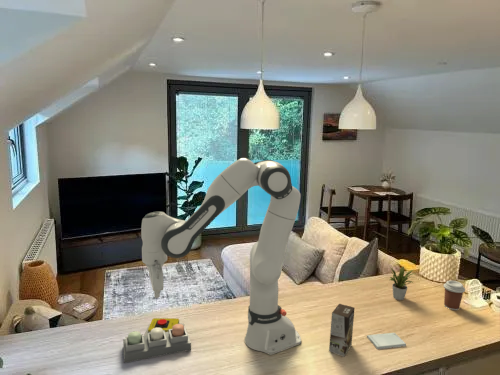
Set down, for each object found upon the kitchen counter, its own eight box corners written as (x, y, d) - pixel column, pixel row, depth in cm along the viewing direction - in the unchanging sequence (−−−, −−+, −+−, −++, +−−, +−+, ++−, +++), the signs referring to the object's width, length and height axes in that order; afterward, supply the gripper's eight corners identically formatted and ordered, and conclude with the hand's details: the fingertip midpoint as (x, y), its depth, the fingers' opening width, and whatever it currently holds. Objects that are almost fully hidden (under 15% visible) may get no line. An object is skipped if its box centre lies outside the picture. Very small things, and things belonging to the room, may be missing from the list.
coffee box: (345, 357, 137) (348, 317, 134) (328, 351, 140) (331, 312, 137) (352, 345, 144) (355, 307, 142) (336, 339, 148) (339, 302, 145)
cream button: (162, 333, 142) (161, 326, 141) (163, 340, 138) (163, 332, 137) (150, 335, 140) (150, 328, 140) (151, 342, 136) (151, 335, 135)
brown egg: (182, 330, 144) (182, 323, 144) (184, 336, 140) (184, 329, 140) (171, 332, 143) (171, 325, 142) (173, 338, 139) (173, 331, 138)
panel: (186, 335, 148) (186, 323, 147) (191, 349, 139) (191, 337, 138) (123, 346, 140) (122, 334, 139) (124, 362, 131) (123, 350, 130)
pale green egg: (140, 337, 139) (140, 330, 138) (141, 344, 135) (141, 336, 134) (128, 339, 137) (128, 332, 137) (128, 346, 133) (128, 339, 133)
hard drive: (394, 332, 152) (366, 334, 150) (406, 343, 144) (377, 346, 142) (394, 335, 153) (366, 338, 150) (405, 347, 145) (376, 350, 142)
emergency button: (149, 315, 155) (184, 315, 156) (149, 324, 156) (184, 325, 157) (143, 327, 146) (181, 327, 147) (143, 337, 147) (181, 337, 147)
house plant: (421, 306, 176) (424, 274, 173) (392, 305, 176) (395, 273, 173) (408, 292, 190) (412, 262, 187) (382, 291, 190) (384, 262, 187)
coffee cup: (465, 307, 176) (468, 284, 174) (457, 313, 170) (461, 289, 168) (445, 300, 183) (448, 277, 181) (437, 306, 177) (440, 282, 175)
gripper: (167, 265, 124) (168, 303, 127) (160, 246, 143) (161, 279, 146) (148, 268, 122) (149, 306, 125) (143, 247, 141) (144, 281, 144)
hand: (155, 291), depth 135 cm, fingers open, 8 cm apart
